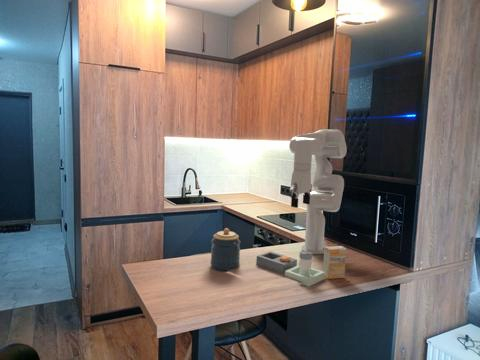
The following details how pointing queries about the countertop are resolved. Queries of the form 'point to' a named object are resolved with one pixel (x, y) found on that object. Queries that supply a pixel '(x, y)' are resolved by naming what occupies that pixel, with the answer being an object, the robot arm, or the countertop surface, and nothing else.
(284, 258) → the brown egg
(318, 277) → the tray
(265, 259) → the housing
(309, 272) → the cartridge
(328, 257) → the supplement box
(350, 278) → the countertop surface
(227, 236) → the canister
